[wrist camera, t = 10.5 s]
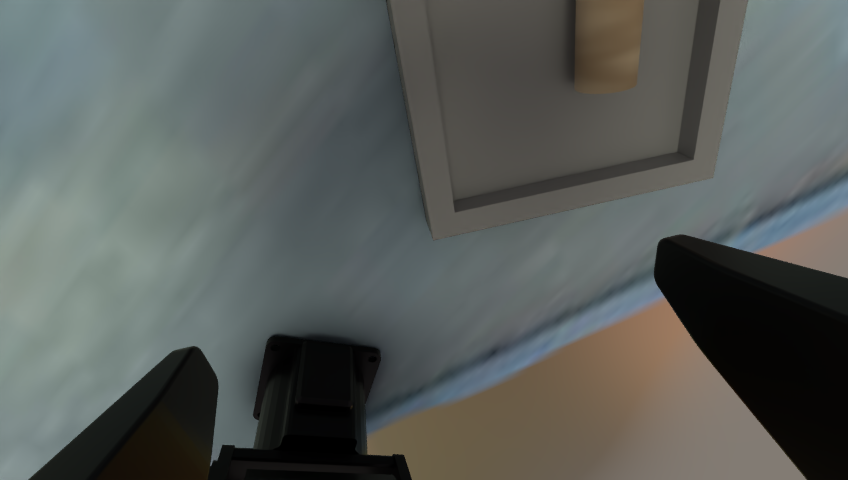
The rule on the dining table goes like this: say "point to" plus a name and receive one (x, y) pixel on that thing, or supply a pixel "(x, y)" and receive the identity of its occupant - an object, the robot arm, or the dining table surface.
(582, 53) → the wooden dowel
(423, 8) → the charcoal frame
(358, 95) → the dining table surface
